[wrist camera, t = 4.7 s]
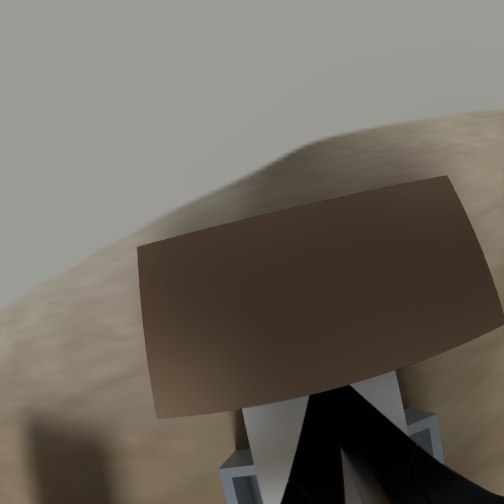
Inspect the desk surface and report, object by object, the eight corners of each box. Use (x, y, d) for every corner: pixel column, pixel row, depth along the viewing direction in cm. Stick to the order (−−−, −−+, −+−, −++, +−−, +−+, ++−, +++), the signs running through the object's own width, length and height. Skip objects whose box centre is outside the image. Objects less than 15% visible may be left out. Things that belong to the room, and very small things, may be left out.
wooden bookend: (393, 485, 13) (511, 603, 1) (281, 513, 13) (244, 679, 1) (355, 311, 17) (454, 173, 5) (243, 338, 18) (128, 249, 6)
